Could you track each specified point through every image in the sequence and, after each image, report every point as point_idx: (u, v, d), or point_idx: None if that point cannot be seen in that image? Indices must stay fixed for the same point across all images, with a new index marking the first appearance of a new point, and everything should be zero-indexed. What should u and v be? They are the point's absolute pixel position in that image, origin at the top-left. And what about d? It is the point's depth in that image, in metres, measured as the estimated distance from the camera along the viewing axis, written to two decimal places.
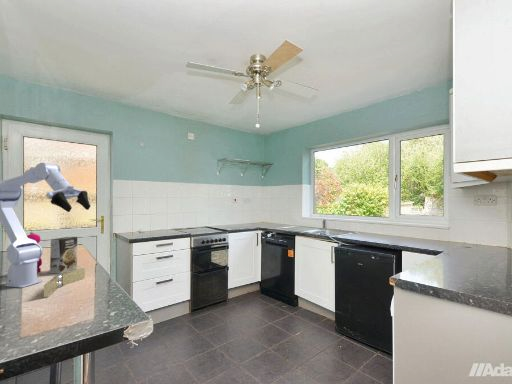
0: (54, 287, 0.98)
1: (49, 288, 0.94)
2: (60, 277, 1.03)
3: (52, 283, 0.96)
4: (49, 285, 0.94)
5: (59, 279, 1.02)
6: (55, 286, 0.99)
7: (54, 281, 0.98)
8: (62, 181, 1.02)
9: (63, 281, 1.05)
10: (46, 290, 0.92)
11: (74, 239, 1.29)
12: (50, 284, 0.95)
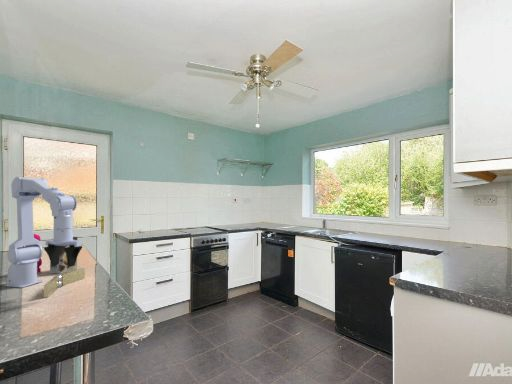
0: (54, 287, 0.98)
1: (49, 288, 0.94)
2: (60, 277, 1.03)
3: (52, 283, 0.96)
4: (49, 285, 0.94)
5: (59, 279, 1.02)
6: (55, 286, 0.99)
7: (54, 281, 0.98)
8: (54, 231, 0.93)
9: (63, 281, 1.05)
10: (46, 290, 0.92)
11: (74, 239, 1.29)
12: (50, 284, 0.95)
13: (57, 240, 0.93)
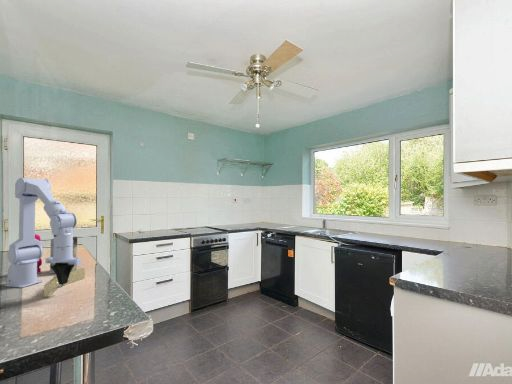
0: (54, 287, 0.98)
1: (49, 288, 0.94)
2: None
3: (52, 283, 0.96)
4: (49, 285, 0.94)
5: None
6: (55, 286, 0.99)
7: (54, 281, 0.98)
8: (54, 249, 0.93)
9: None
10: (46, 290, 0.92)
11: (74, 239, 1.29)
12: (50, 284, 0.95)
13: (57, 258, 0.93)
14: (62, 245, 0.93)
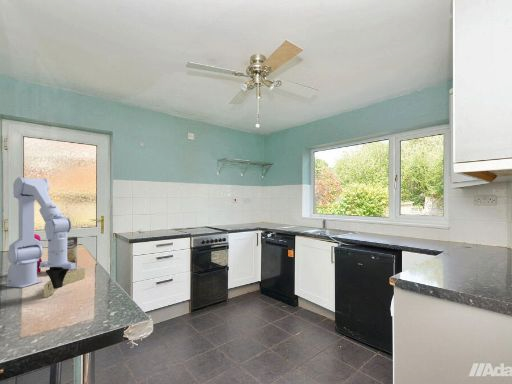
0: None
1: (49, 288, 0.94)
2: None
3: None
4: (49, 285, 0.94)
5: None
6: None
7: None
8: (48, 254, 0.94)
9: (63, 281, 1.05)
10: (46, 290, 0.92)
11: (74, 239, 1.29)
12: (50, 284, 0.95)
13: (51, 263, 0.93)
14: (56, 250, 0.94)
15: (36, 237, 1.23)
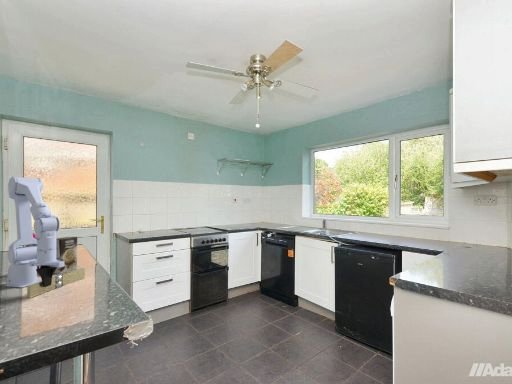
0: (46, 287, 0.98)
1: (34, 289, 0.93)
2: (58, 277, 1.02)
3: (41, 284, 0.96)
4: (34, 286, 0.93)
5: (57, 279, 1.02)
6: (48, 287, 0.98)
7: None
8: (37, 252, 0.95)
9: (63, 281, 1.05)
10: (29, 291, 0.91)
11: (74, 239, 1.29)
12: (36, 285, 0.94)
13: (40, 261, 0.94)
14: (44, 248, 0.95)
15: None
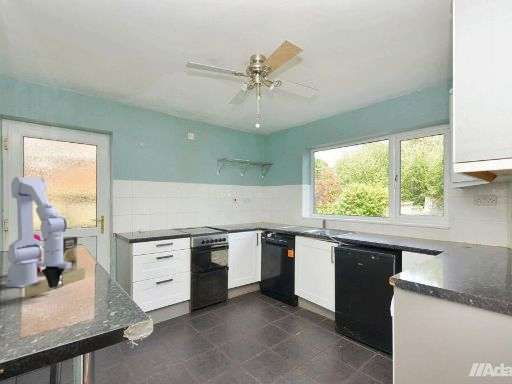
0: (45, 287, 0.98)
1: (31, 289, 0.93)
2: None
3: (39, 284, 0.96)
4: (31, 286, 0.93)
5: None
6: (47, 287, 0.98)
7: (45, 282, 0.98)
8: (44, 253, 0.94)
9: (63, 281, 1.05)
10: (26, 291, 0.92)
11: (74, 239, 1.29)
12: (34, 285, 0.94)
13: (47, 262, 0.94)
14: (52, 249, 0.94)
15: (36, 237, 1.23)
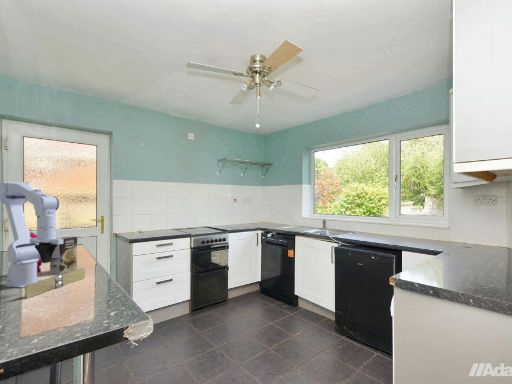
0: (45, 287, 0.98)
1: (31, 289, 0.93)
2: (58, 278, 1.02)
3: (39, 284, 0.96)
4: (31, 286, 0.93)
5: (57, 279, 1.02)
6: (47, 287, 0.98)
7: (45, 282, 0.98)
8: (37, 230, 0.99)
9: (63, 281, 1.05)
10: (26, 291, 0.92)
11: (74, 239, 1.29)
12: (34, 285, 0.94)
13: (40, 238, 0.98)
14: (45, 225, 0.99)
15: (36, 237, 1.23)
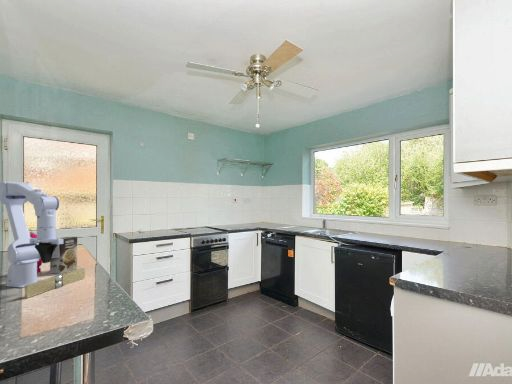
0: (45, 287, 0.98)
1: (31, 289, 0.93)
2: (58, 278, 1.02)
3: (39, 284, 0.96)
4: (31, 286, 0.93)
5: (57, 279, 1.02)
6: (47, 287, 0.98)
7: (45, 282, 0.98)
8: (37, 230, 0.99)
9: (63, 281, 1.05)
10: (26, 291, 0.92)
11: (74, 239, 1.29)
12: (34, 285, 0.94)
13: (40, 238, 0.98)
14: (45, 225, 0.99)
15: (36, 237, 1.23)
